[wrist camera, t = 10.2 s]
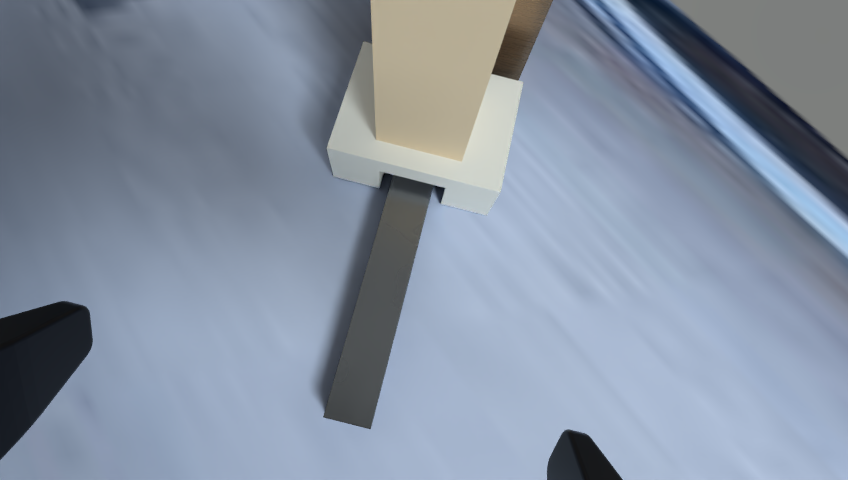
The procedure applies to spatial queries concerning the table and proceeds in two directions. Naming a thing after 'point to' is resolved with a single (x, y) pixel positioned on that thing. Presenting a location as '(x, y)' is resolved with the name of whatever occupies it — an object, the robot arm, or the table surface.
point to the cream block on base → (430, 101)
